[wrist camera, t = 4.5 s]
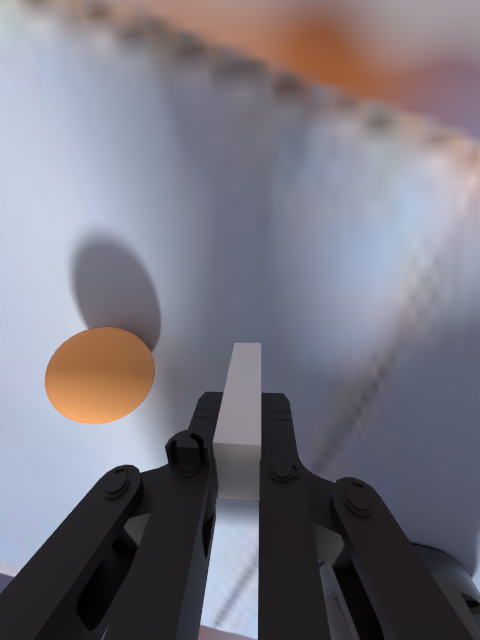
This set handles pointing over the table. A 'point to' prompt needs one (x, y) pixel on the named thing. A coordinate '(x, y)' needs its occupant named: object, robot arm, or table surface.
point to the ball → (99, 375)
